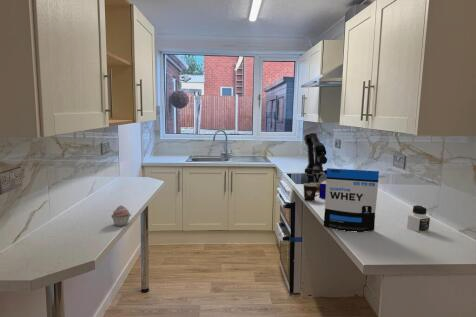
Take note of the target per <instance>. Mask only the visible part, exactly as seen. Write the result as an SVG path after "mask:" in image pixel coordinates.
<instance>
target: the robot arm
mask: <svg viewBox="0 0 476 317" xmlns="http://www.w3.org/2000/svg"><path fill="white" fill-rule="evenodd" d="M303 140H304V143H305V145H306V147H307V148H306V149H307V159H308V160H307V162H308V164H307V166H306V167H305V169H304V176H306V182H305V184H306V183H319V179H321V176H323V175H326V176H327V169H325V170H324V168H323V165H326V164H327V162H328V158H327V156H326V155H327V150H326V146H325V145H324V143H322V142H321V141H320V139H319V138H318V136H317V132H316V133H315V132H311V133H310V132H309V133H307V134H305V135H304V136H303Z"/></svg>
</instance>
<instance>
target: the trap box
mask: <svg viewBox="0 0 476 317" xmlns="http://www.w3.org/2000/svg"><path fill="white" fill-rule="evenodd" d="M311 184H316V185H317V188H319V187H320V185H319V182H318V183H317V182H315V183H311ZM316 193H320V188H319V189H317V191H316Z"/></svg>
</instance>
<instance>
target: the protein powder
mask: <svg viewBox="0 0 476 317" xmlns="http://www.w3.org/2000/svg"><path fill="white" fill-rule="evenodd" d="M326 170H327V175H326V177H325V179H326V197H325V199H324V200H325V201H324V216H323V227H327V228H330V229H332V230H336V229H337V230H336V231H340V230H345V231H344V232H347V231H357V232H356V233H365V232H364V231H368V232H372V231H371V230H374V231H375V223H376V221H375V220H376V210H377V200H378V199H377V198H378V190H379V178H380V177H379V176H380V171H379V170H364V169H349V168H347V169H345V168H332V167H331V168H330V167H328V168H326Z"/></svg>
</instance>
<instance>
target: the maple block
mask: <svg viewBox="0 0 476 317" xmlns="http://www.w3.org/2000/svg"><path fill="white" fill-rule="evenodd" d="M323 181H326V178H320V179H319V181H318V183H319V185H320V183H322V182H323Z"/></svg>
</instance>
